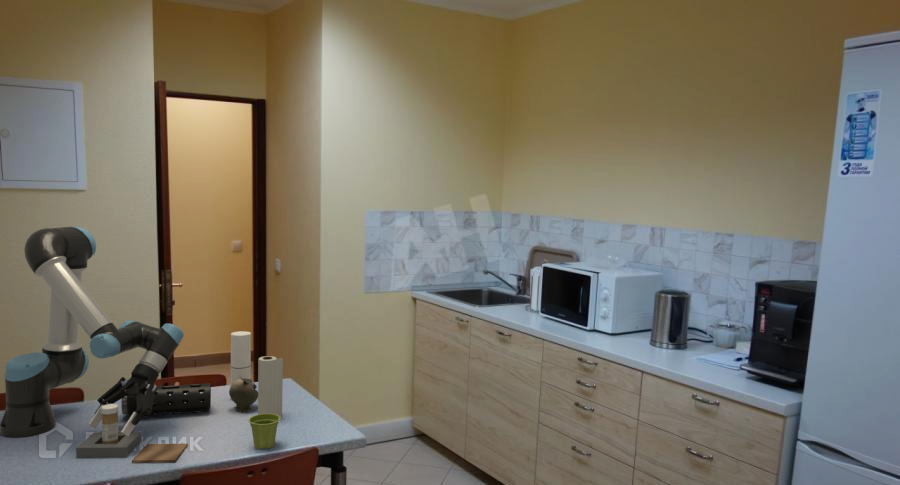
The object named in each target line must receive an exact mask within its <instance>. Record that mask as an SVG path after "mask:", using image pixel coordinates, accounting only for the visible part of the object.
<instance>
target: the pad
mask: <svg viewBox="0 0 900 485" xmlns="http://www.w3.org/2000/svg"><path fill="white" fill-rule="evenodd" d="M187 446H189V444H188V443H146V445H144V446H143V448H142V449H141V450H140V451H139V452H138V453H137V455H135V456H134V457H133V459H132V460H131V463H132V464H161V463H162V464H168V463H169V464H170V463H171V464H173V463H176V462H177V461H178V460H179V459H180V458H181V456H182V455H183V454H184V452H185V450H186V449H187V448H188V447H187Z"/></svg>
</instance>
